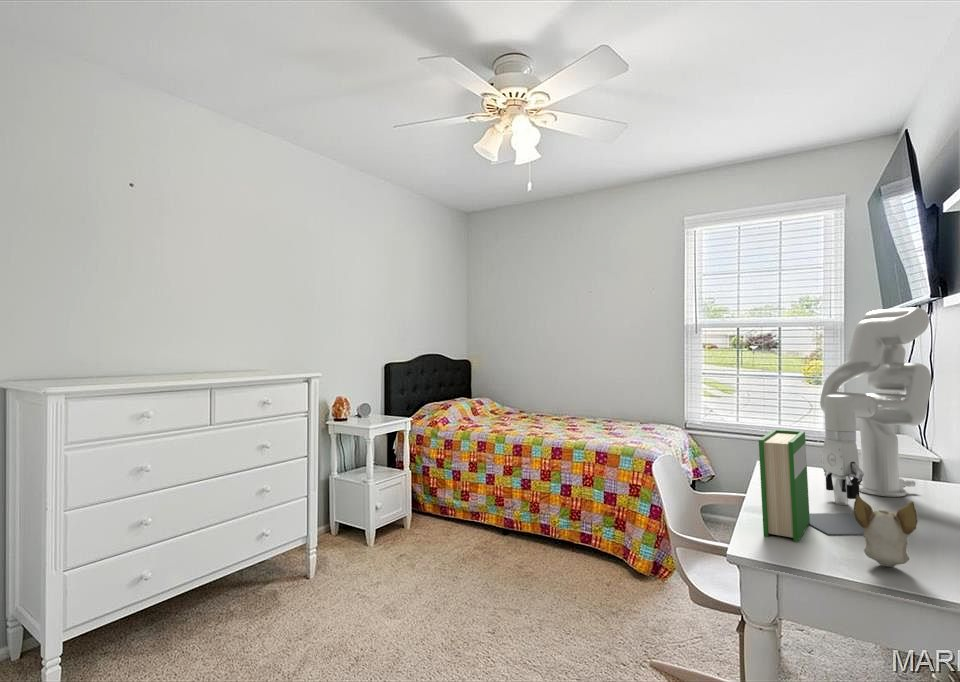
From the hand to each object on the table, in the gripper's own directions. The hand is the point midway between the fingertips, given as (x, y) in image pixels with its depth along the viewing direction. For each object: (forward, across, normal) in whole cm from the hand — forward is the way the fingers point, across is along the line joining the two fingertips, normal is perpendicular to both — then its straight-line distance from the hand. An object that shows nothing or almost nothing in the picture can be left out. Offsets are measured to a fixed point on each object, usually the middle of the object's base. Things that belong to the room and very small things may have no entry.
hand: (842, 494), depth 154 cm
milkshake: (+3, 0, 0) cm, 3 cm away
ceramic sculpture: (+3, +45, -21) cm, 50 cm away
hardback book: (+3, +21, -28) cm, 35 cm away
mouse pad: (+3, +18, -11) cm, 21 cm away
